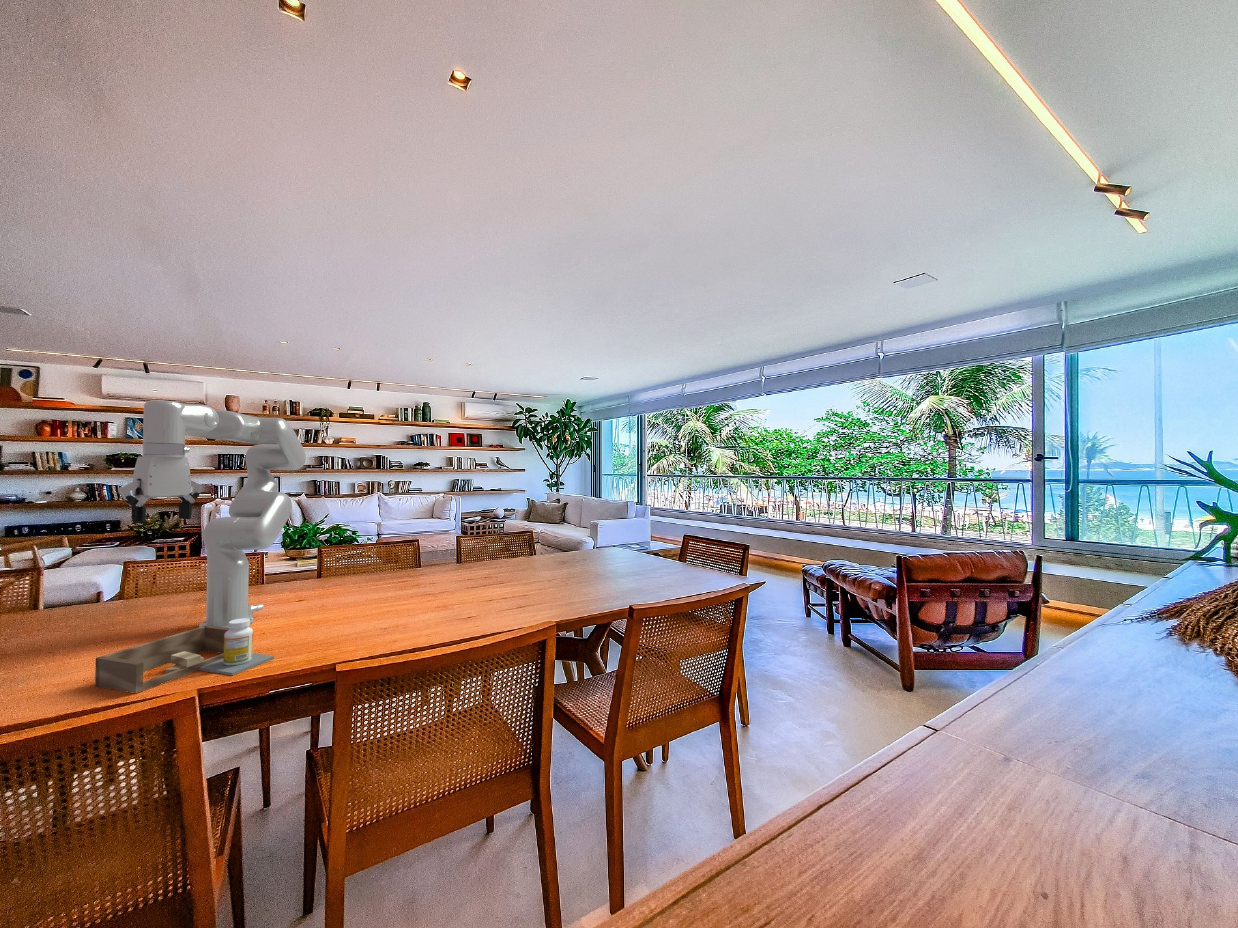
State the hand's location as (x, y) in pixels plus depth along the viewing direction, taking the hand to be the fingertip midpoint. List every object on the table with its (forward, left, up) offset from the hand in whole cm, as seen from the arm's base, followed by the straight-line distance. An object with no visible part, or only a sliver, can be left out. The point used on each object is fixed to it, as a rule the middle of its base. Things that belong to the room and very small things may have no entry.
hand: (162, 520), depth 119 cm
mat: (-2, +22, -33) cm, 40 cm away
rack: (+4, +11, -33) cm, 35 cm away
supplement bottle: (-2, +22, -33) cm, 40 cm away
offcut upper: (+4, +14, -32) cm, 35 cm away
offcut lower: (+4, +14, -34) cm, 37 cm away
